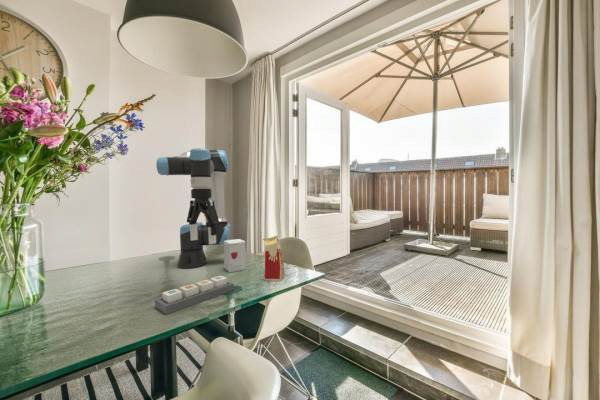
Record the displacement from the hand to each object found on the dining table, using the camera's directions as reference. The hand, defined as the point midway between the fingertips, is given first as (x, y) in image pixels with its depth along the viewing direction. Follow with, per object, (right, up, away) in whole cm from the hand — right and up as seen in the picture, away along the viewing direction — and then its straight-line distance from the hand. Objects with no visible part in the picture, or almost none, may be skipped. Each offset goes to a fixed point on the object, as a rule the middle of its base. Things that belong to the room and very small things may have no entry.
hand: (203, 241), depth 104 cm
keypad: (-1, -21, -3) cm, 21 cm away
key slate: (+5, -18, +4) cm, 19 cm away
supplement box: (+4, -20, +34) cm, 39 cm away
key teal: (-7, -19, -11) cm, 23 cm away
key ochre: (+1, -18, -1) cm, 18 cm away
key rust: (-3, -19, -6) cm, 20 cm away
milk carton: (+26, -20, +19) cm, 38 cm away
